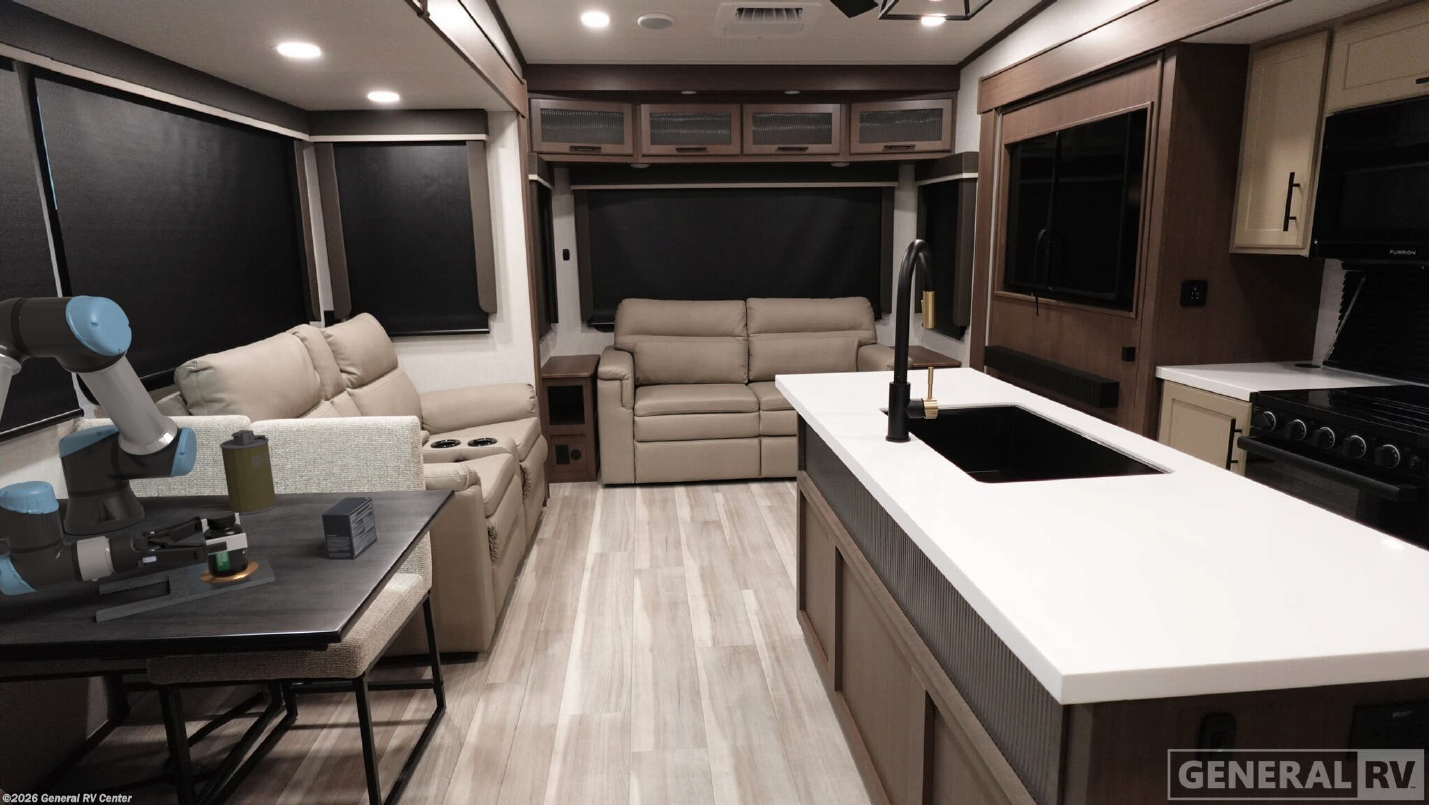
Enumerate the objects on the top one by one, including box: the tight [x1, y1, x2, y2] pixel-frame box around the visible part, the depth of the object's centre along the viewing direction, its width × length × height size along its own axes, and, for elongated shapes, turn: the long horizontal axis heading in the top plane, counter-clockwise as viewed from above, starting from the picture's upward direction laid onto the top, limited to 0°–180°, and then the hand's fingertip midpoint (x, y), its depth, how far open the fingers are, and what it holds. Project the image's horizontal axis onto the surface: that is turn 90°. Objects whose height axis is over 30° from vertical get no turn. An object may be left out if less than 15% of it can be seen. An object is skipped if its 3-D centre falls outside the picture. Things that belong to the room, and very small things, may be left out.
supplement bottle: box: [202, 510, 249, 577], centre depth 153 cm, size 7×7×12 cm
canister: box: [219, 429, 278, 516], centre depth 191 cm, size 11×10×20 cm
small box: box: [321, 496, 378, 560], centre depth 167 cm, size 11×6×10 cm, turn 178°
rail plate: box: [95, 550, 276, 623], centre depth 151 cm, size 28×16×1 cm, turn 126°
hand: (243, 529), depth 155 cm, fingers open, 13 cm apart
